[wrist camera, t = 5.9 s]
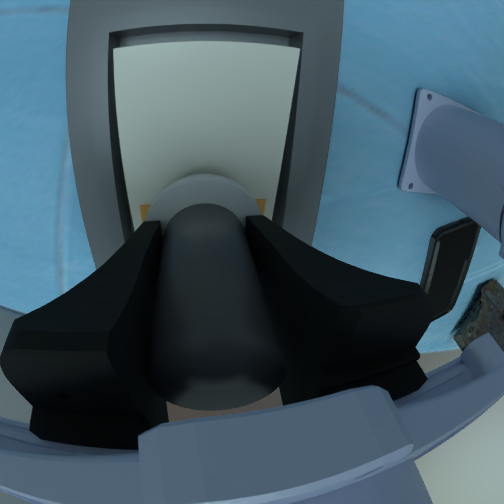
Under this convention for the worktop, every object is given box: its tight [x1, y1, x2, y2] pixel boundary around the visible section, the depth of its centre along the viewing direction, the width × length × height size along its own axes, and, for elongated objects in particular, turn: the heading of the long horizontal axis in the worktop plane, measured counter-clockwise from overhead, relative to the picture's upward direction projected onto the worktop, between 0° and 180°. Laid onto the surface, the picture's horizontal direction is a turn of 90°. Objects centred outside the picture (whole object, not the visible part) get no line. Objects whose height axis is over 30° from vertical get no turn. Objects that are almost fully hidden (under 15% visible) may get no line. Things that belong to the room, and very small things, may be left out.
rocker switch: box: [113, 40, 300, 231], centre depth 12 cm, size 7×10×1 cm
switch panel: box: [66, 0, 344, 270], centre depth 13 cm, size 14×20×4 cm
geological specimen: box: [454, 280, 504, 352], centre depth 28 cm, size 11×6×15 cm, turn 0°
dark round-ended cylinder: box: [145, 174, 287, 410], centre depth 9 cm, size 5×5×9 cm
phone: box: [420, 216, 481, 322], centre depth 27 cm, size 8×1×15 cm
